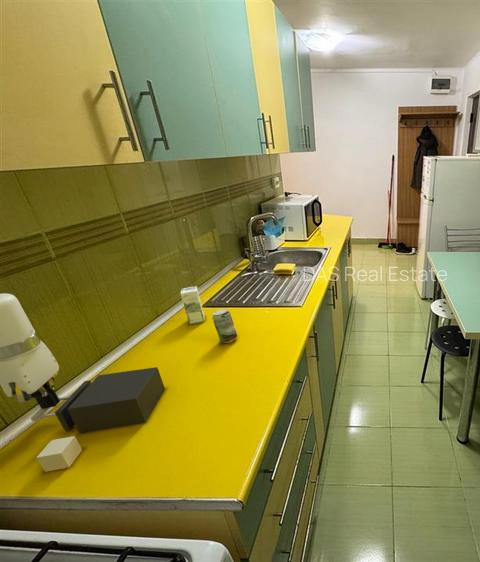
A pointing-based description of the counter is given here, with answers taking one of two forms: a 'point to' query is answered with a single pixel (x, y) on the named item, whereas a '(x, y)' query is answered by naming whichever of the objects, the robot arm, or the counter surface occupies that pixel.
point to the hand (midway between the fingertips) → (51, 405)
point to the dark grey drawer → (63, 409)
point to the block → (59, 454)
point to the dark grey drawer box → (117, 400)
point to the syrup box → (192, 305)
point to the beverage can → (224, 325)
